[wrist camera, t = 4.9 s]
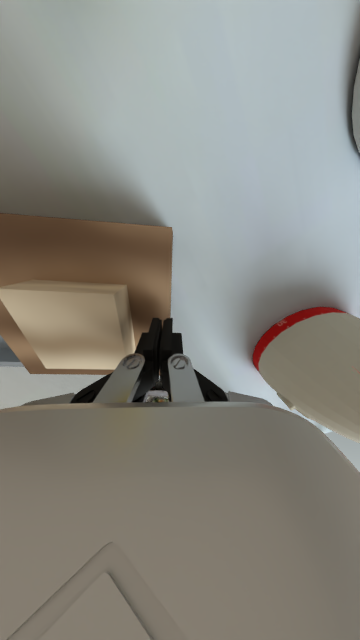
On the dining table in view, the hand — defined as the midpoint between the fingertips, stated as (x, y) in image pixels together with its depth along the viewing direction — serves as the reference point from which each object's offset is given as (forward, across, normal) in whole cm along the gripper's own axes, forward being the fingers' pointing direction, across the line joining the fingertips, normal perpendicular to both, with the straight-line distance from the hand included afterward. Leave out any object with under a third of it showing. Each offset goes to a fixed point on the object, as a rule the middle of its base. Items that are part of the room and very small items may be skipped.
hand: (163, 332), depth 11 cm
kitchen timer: (+6, -20, +6) cm, 22 cm away
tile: (+1, +6, 0) cm, 7 cm away
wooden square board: (+5, +8, 0) cm, 9 cm away
